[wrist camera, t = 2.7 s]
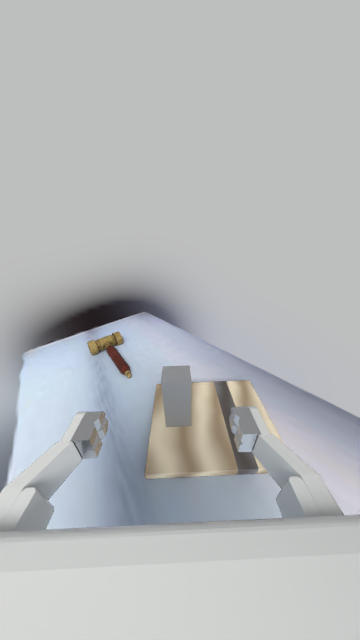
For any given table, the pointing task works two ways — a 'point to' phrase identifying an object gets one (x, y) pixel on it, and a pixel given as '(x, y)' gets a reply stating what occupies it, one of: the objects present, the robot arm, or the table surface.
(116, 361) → the gavel
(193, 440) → the board
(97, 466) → the table surface
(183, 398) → the tall grey pillar
